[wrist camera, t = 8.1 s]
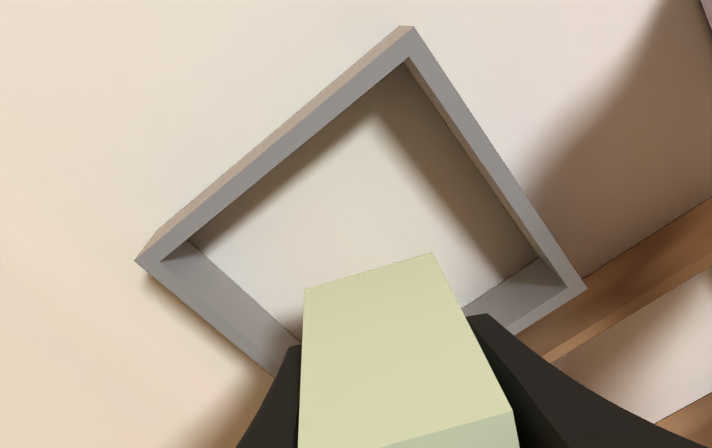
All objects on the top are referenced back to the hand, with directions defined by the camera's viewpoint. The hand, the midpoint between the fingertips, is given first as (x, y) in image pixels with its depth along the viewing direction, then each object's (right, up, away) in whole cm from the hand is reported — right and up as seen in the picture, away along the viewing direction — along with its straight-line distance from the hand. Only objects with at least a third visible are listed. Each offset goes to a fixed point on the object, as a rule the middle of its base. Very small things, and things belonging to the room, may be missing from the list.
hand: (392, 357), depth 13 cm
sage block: (0, +1, +2) cm, 2 cm away
